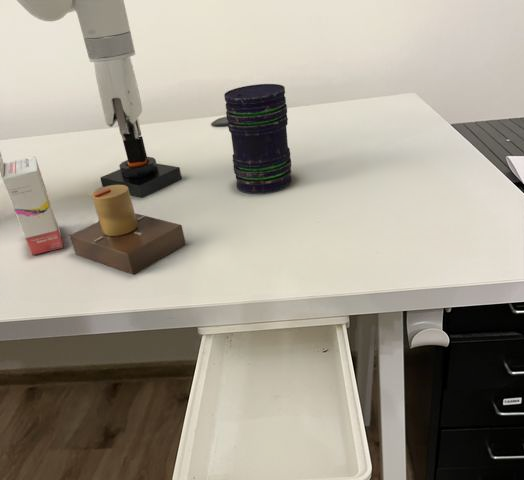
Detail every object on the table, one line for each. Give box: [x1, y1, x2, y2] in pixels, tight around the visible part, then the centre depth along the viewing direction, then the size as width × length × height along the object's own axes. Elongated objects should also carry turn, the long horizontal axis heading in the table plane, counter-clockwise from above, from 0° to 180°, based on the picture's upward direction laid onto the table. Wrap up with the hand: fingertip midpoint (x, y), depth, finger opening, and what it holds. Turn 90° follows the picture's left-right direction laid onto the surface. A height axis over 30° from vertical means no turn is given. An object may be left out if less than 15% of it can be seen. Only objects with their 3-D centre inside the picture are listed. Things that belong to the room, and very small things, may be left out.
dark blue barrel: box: [223, 83, 293, 195], centre depth 91 cm, size 10×10×15 cm
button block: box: [99, 156, 183, 199], centre depth 101 cm, size 11×10×4 cm
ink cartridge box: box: [0, 151, 64, 256], centre depth 81 cm, size 9×5×15 cm, turn 22°
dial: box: [91, 185, 138, 236], centre depth 77 cm, size 5×5×6 cm
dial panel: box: [69, 212, 186, 275], centre depth 79 cm, size 13×10×3 cm
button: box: [127, 159, 148, 167], centre depth 100 cm, size 4×4×2 cm
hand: (138, 160), depth 100 cm, fingers closed
